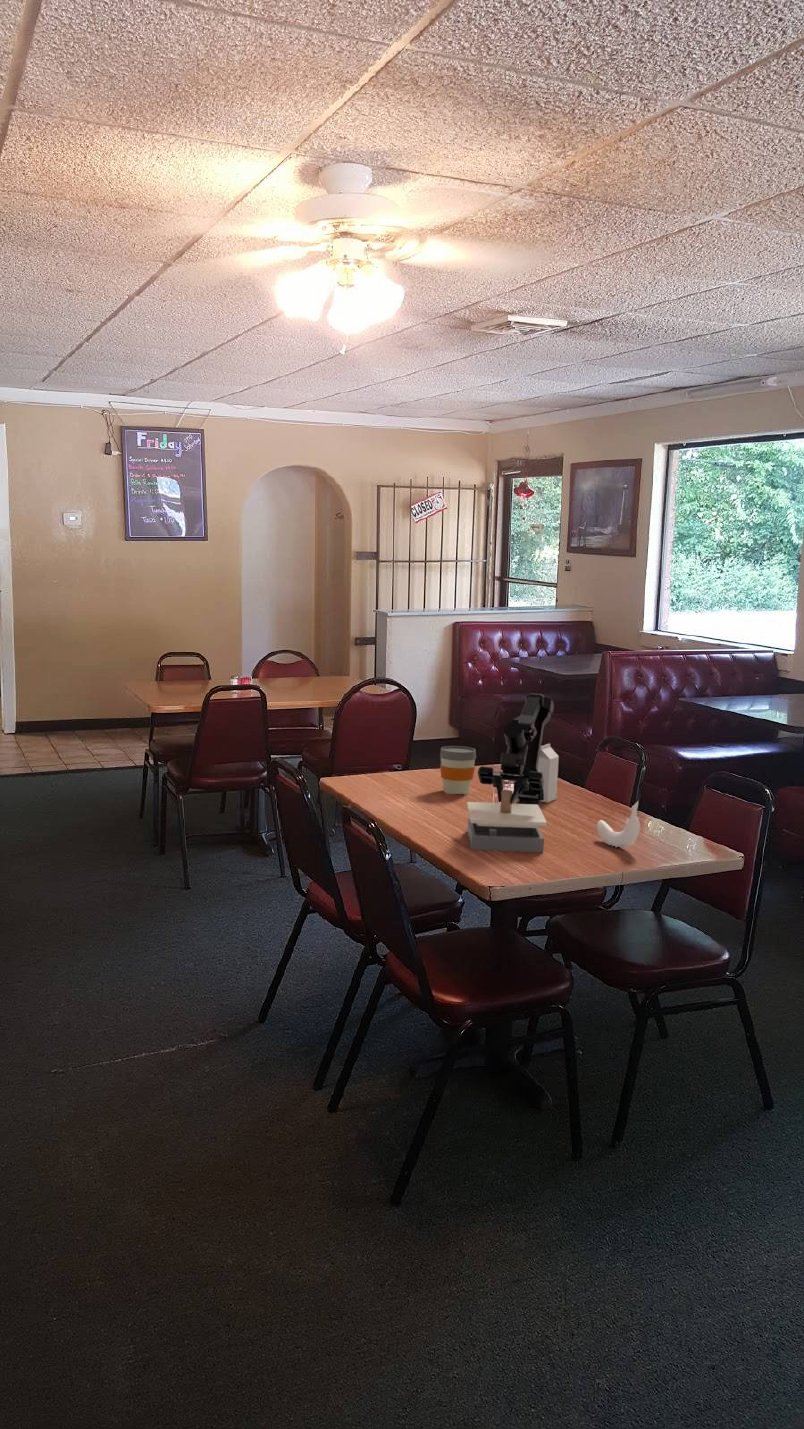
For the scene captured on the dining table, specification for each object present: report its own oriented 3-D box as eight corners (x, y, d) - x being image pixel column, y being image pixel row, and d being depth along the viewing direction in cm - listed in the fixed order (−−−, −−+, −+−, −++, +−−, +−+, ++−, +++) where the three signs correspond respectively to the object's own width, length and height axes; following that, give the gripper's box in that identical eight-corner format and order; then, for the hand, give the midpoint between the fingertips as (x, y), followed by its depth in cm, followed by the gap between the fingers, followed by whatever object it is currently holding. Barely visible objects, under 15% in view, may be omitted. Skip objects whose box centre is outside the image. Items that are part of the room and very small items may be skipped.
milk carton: (556, 799, 365) (559, 744, 362) (547, 803, 359) (550, 747, 356) (537, 796, 368) (540, 742, 366) (528, 799, 362) (531, 744, 360)
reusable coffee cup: (440, 786, 377) (442, 745, 375) (475, 789, 376) (477, 747, 374) (436, 794, 365) (438, 751, 363) (473, 797, 364) (475, 753, 361)
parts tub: (534, 833, 318) (535, 820, 317) (543, 852, 298) (543, 838, 298) (467, 831, 318) (468, 818, 317) (471, 849, 298) (472, 835, 298)
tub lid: (537, 811, 318) (539, 784, 316) (546, 830, 297) (548, 801, 296) (466, 809, 318) (468, 782, 316) (470, 827, 297) (472, 798, 296)
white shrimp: (601, 837, 318) (604, 788, 315) (643, 854, 301) (647, 803, 299) (587, 838, 315) (591, 790, 313) (629, 855, 299) (633, 804, 297)
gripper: (480, 738, 310) (469, 783, 302) (544, 744, 305) (534, 790, 296) (486, 760, 319) (475, 804, 310) (548, 766, 313) (538, 811, 305)
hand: (505, 802), depth 305 cm, fingers closed on tub lid, 3 cm apart
